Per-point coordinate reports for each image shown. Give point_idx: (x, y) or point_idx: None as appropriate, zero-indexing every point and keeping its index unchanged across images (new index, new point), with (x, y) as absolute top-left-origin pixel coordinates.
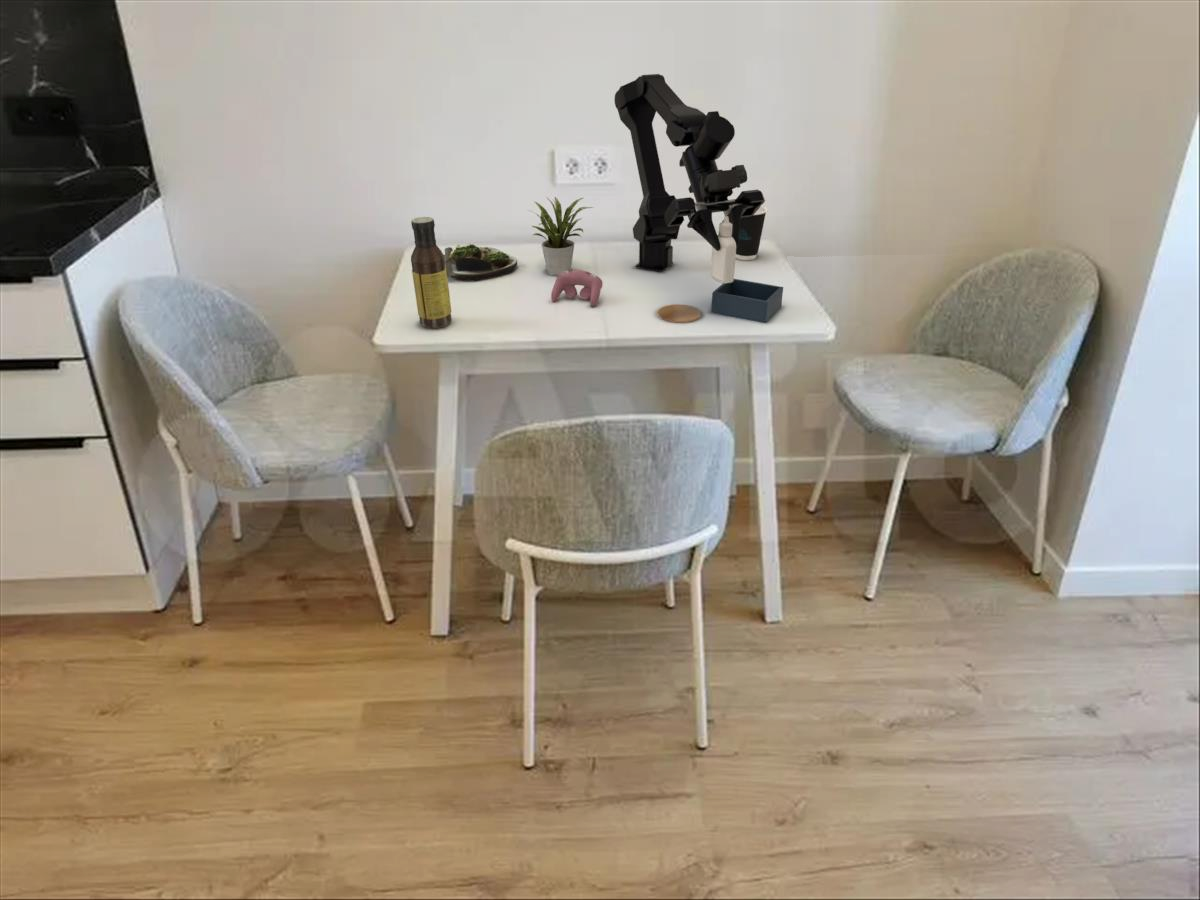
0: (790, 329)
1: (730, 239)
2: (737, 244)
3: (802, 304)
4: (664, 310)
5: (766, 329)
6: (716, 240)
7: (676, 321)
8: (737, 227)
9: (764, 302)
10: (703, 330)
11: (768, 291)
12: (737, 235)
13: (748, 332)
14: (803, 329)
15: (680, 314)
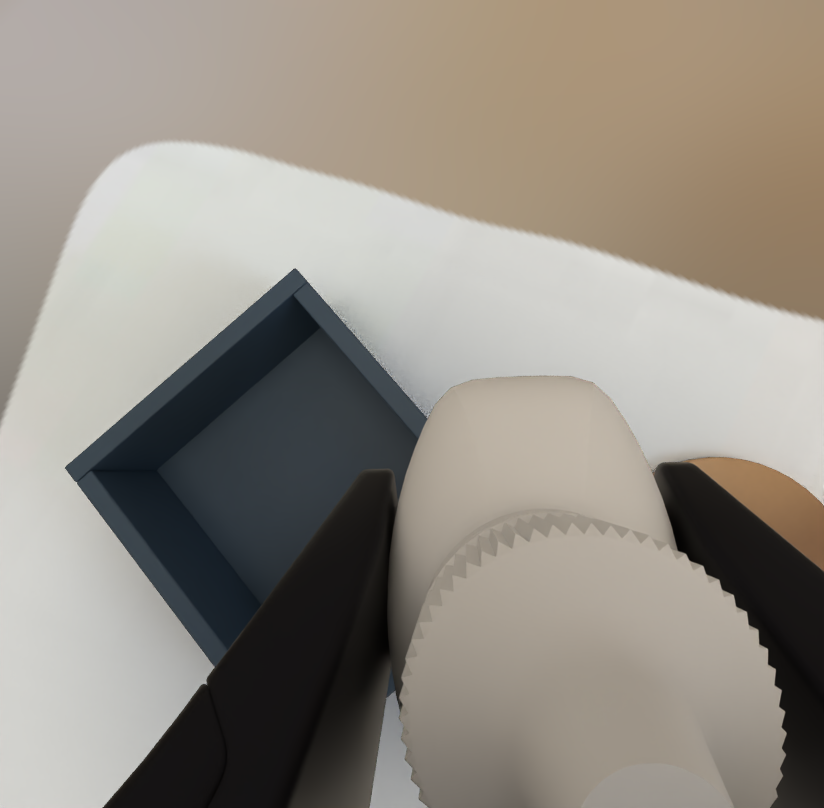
0: (258, 194)
1: (508, 468)
2: (376, 472)
3: (19, 460)
4: None
5: (365, 232)
6: (760, 533)
7: (788, 477)
8: (233, 699)
9: (309, 284)
10: (680, 328)
11: (152, 521)
12: (316, 566)
13: (468, 228)
14: (201, 175)
15: None
